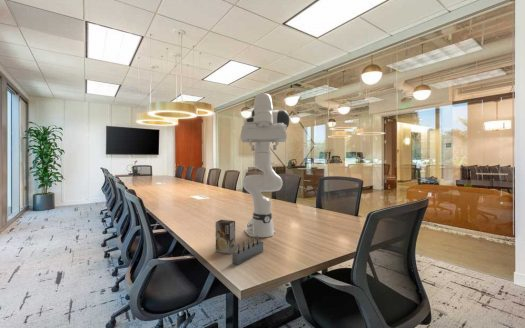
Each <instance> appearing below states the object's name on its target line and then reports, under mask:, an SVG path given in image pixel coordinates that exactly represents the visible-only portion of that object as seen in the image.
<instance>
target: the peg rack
mask: <svg viewBox="0 0 525 328" xmlns="http://www.w3.org/2000/svg"><path fill="white" fill-rule="evenodd" d="M250 240H251V241H252V244H251V243H250V242H251V241H250ZM263 252H264V241H260V237H259V235H257V237H256V242H255V237H252V239H250V238H249V239H247V246H246V241H243V242H242V248H241V244H240V243H237V251H234V252H232V253H231V254H232V255H231V260H232V261H231V263H232V265H234V266H239V265H241V264H243V263H245V262H246V261H249V260H250V259H252V258H254V257H256V256H257V255H259V254H261V253H263Z"/></svg>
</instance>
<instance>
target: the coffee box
mask: <svg viewBox="0 0 525 328" xmlns="http://www.w3.org/2000/svg"><path fill="white" fill-rule="evenodd" d="M215 252H216V253H222V254H230V255H231V254H233V253H235V252H236V221H235V220H229V219H219V220H217V221H216V222H215Z"/></svg>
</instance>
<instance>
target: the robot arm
mask: <svg viewBox="0 0 525 328" xmlns="http://www.w3.org/2000/svg"><path fill="white" fill-rule="evenodd" d="M273 108H274V107H273V100H272V96H271V95H270V94H269V93H266V92H265V93H263V92H262V93H257V94H256V95H255V98H254V103H253V109H252V111H251V117H248V118H245V119H243V125H242V126H241V130H240V140H241V143H248V145H249V146H250V151H254V154H253V155H254V158H253V159H254V160H253V163H254V167H255V168H256V170H258V171H259V170H260V171H261V172H263V174H249V175H246V176H244V178H243V180H242V187H243V188H244V190H245V191H246V192H248V193H249V195H250V196H251V197H252V201H253V212H252V218H251V219H250V220H249V221H248V222H247V226H246V227H245V228H244V229H243V231H244V233H246V234H247V235H248V236H249V237H252V238H253V237H254V238H257V235H259V238H269V237H271V236H272V237H273V236H274V234H275V233H276V230H274V229H275V228H274V220H273V214H272V201H271V199H270V198H268V197H267V196H264V195H263V192H270V193H271V192H278V191H280V190H281V189H282V187H283V184H284V183H283V182H284V181H283V179H282V177H281V176H280V175H278V174H277V173H276V172H275V170H274V168H273V165H272V151H277V147H278V145H279V143H284V142H286V141H287V139H288V137H287V128H289V125H290V114H289V112H288V111H286V110H285V109H275V110H274V109H273ZM253 143H255V145H254V144H253ZM271 143H272V144H273V145H272V151H271ZM274 143H275V144H274Z"/></svg>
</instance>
